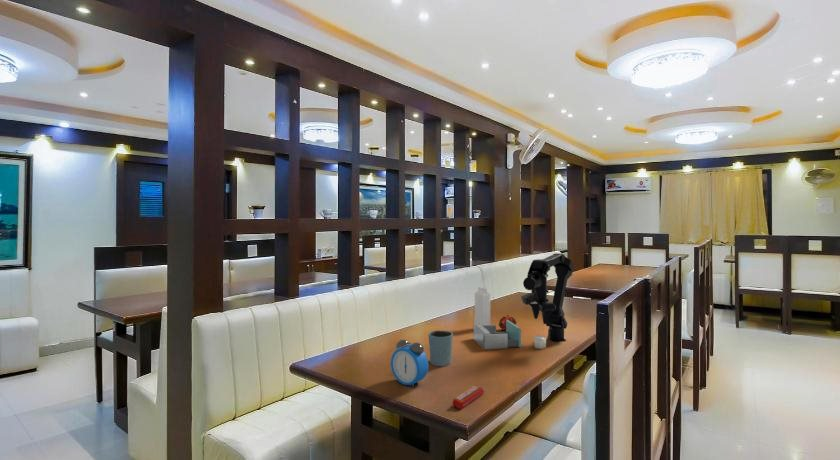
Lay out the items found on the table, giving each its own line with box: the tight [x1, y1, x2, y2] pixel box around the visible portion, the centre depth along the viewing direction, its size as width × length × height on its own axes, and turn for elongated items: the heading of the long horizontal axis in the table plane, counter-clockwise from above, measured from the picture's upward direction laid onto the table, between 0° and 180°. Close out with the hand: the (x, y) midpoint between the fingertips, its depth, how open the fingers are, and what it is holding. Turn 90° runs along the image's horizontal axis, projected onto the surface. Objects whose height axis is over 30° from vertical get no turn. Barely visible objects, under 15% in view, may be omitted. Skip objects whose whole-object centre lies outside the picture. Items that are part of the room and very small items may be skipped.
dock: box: [472, 323, 509, 350], centre depth 192 cm, size 11×17×7 cm, turn 8°
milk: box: [474, 287, 491, 325], centre depth 218 cm, size 6×6×22 cm
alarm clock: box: [390, 339, 429, 388], centre depth 146 cm, size 13×6×15 cm, turn 53°
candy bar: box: [451, 384, 485, 410], centre depth 132 cm, size 16×4×3 cm, turn 142°
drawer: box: [490, 320, 522, 348], centre depth 193 cm, size 11×17×8 cm, turn 8°
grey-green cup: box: [427, 330, 454, 367], centre depth 167 cm, size 10×10×12 cm
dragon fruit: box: [498, 314, 517, 332], centre depth 215 cm, size 8×8×12 cm
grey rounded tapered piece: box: [533, 335, 547, 350], centre depth 187 cm, size 5×5×4 cm
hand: (540, 321), depth 186 cm, fingers open, 9 cm apart
